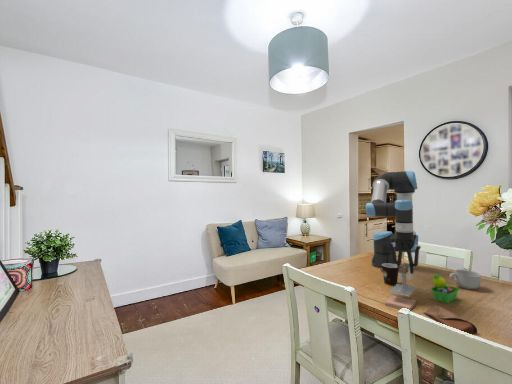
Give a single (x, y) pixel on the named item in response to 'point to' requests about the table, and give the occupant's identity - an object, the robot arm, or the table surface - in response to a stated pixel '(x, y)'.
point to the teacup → (466, 279)
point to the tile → (400, 302)
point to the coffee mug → (389, 273)
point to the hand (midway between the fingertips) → (405, 278)
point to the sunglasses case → (450, 319)
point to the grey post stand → (403, 288)
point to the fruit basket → (443, 290)
